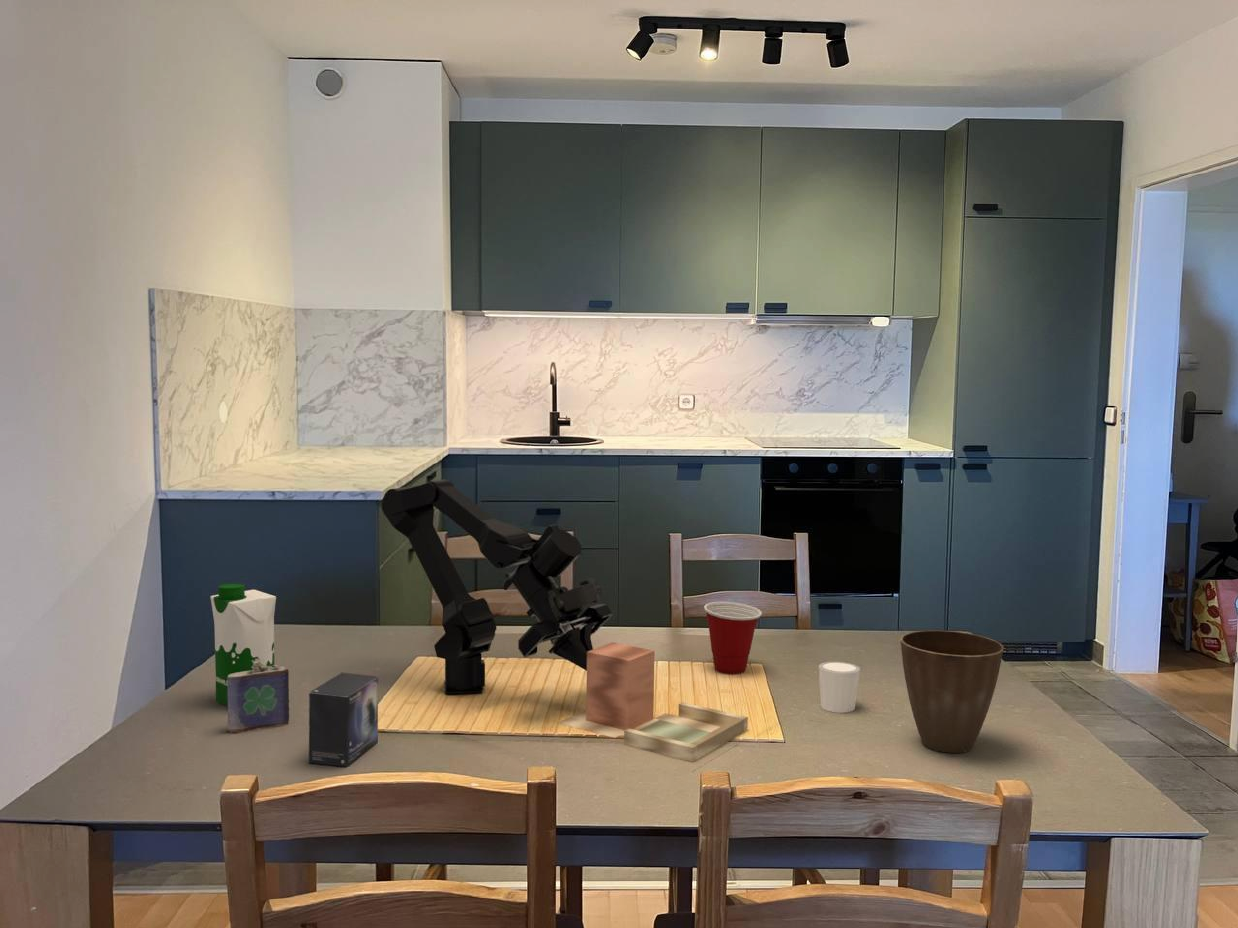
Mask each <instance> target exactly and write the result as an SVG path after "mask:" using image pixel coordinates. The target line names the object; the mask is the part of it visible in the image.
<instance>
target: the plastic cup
mask: <svg viewBox="0 0 1238 928" xmlns="http://www.w3.org/2000/svg"><path fill="white" fill-rule="evenodd" d="M703 608H704V611H705V613H706V614H705V615H706V618H707V625H708V633H709V639H710V649H711V653H712V658H713V659H712V660H713V666H714V670H715V671H716V672H718V673H721V674H727V675H739V674H743V673H745V672H746V669H747V666H748V662H749V655H750V654H751V648H752V644H753V640H754V633H755V629H756V628H757V624H758V621H759V619H760V617H761V616H762V614H763V612H762V611H761V610H760V609H759V608H757V607H755V606H752V605H749V604H745V603H739V602H733V601H732V602H731V601H712V602H708V603H706V604H705V605H704V606H703Z"/></svg>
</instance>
